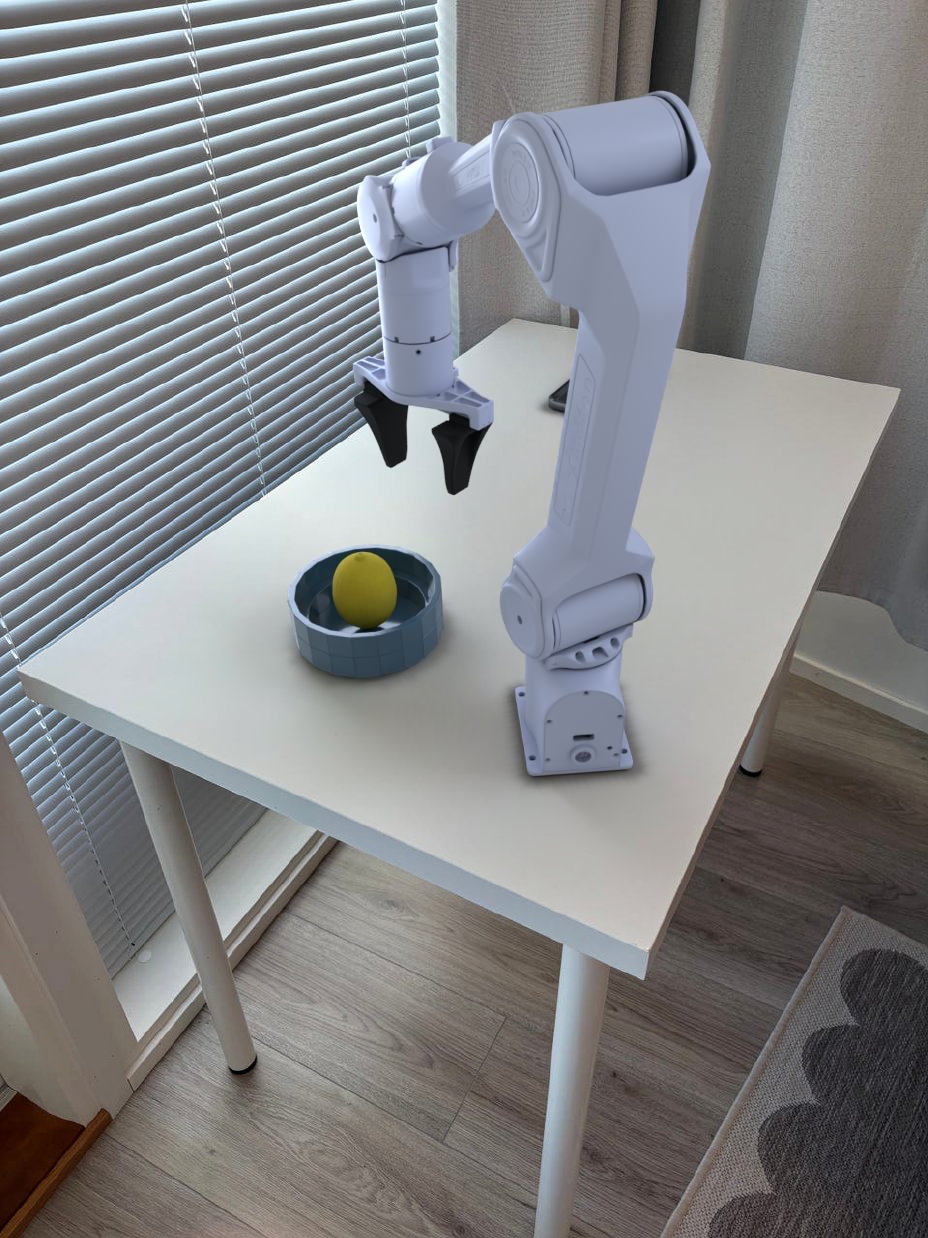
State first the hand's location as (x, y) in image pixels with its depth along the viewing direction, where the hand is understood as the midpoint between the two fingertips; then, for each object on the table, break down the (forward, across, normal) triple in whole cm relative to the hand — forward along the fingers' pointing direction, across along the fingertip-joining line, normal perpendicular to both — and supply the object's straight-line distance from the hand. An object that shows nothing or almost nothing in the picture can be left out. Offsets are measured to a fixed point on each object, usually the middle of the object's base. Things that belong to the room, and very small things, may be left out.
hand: (426, 476), depth 86 cm
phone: (+10, +9, -42) cm, 44 cm away
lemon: (+10, -2, +11) cm, 15 cm away
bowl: (+10, -2, +11) cm, 15 cm away
